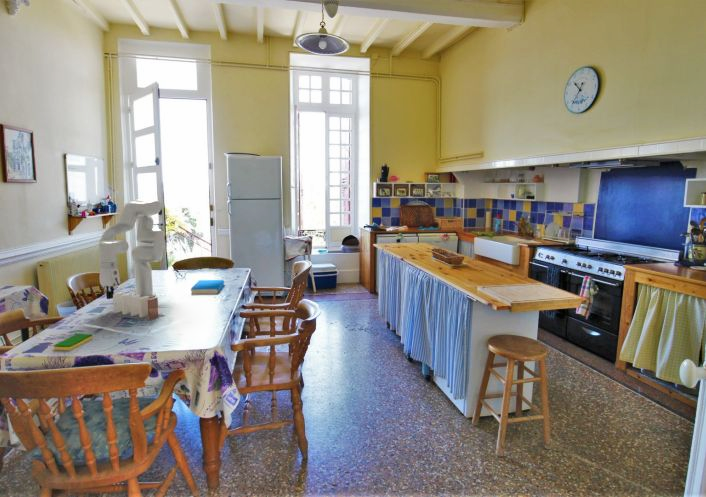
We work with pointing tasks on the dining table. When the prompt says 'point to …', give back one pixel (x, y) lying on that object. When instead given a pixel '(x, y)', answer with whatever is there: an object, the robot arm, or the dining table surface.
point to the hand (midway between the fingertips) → (110, 298)
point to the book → (207, 287)
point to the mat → (135, 316)
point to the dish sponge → (73, 342)
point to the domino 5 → (152, 307)
